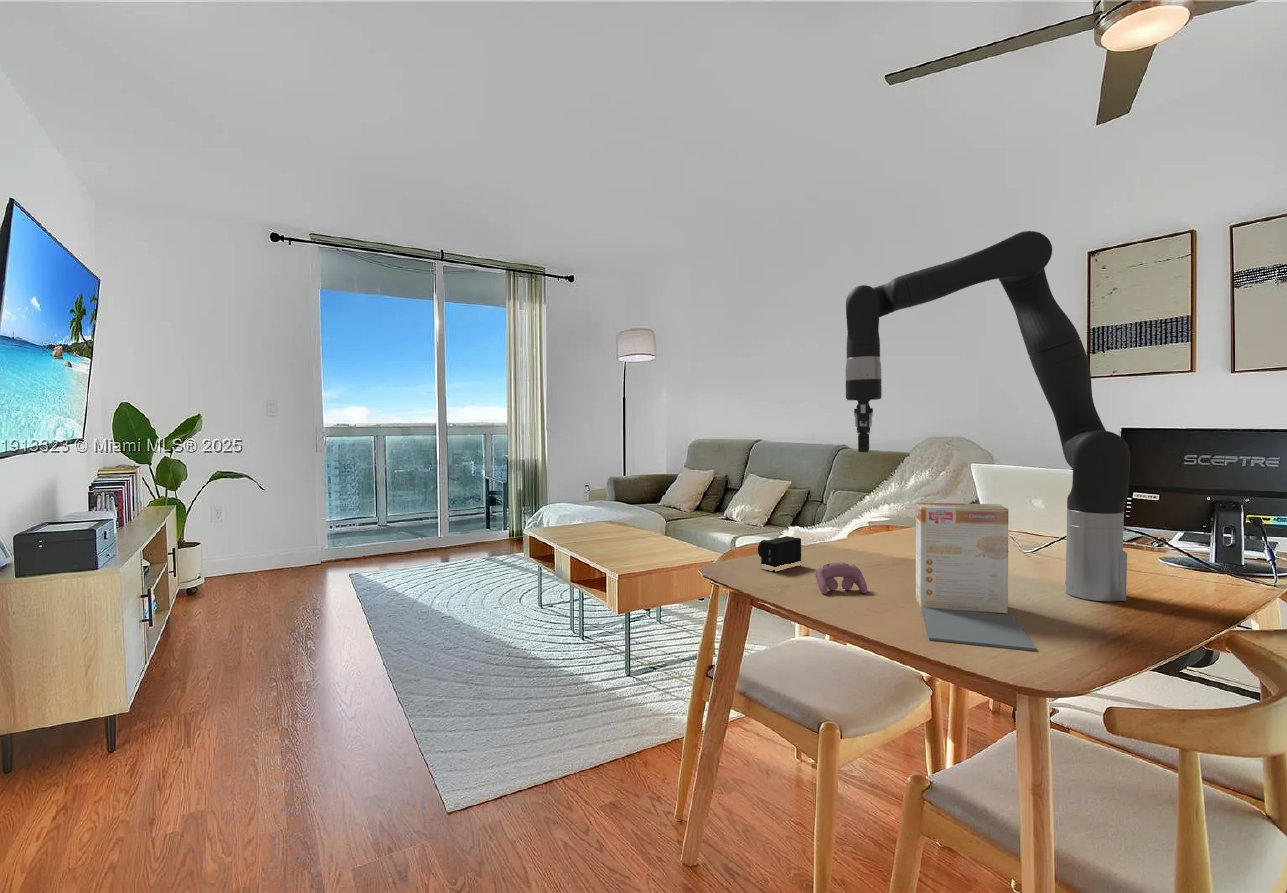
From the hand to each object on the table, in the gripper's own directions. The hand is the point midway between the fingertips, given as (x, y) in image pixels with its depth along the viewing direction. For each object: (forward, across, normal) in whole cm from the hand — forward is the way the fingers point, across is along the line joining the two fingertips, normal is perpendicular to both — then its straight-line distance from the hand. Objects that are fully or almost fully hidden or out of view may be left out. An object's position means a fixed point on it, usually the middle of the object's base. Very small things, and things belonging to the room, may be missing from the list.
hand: (863, 451), depth 139 cm
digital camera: (+29, +6, +20) cm, 35 cm away
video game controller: (+29, -12, +5) cm, 32 cm away
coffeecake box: (+29, -16, -17) cm, 37 cm away
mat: (+29, -29, -18) cm, 45 cm away
